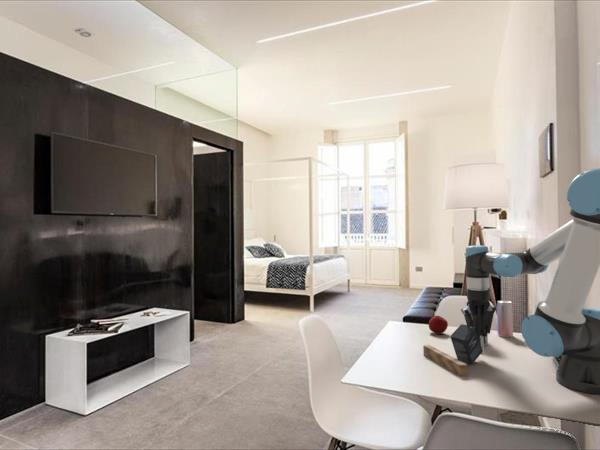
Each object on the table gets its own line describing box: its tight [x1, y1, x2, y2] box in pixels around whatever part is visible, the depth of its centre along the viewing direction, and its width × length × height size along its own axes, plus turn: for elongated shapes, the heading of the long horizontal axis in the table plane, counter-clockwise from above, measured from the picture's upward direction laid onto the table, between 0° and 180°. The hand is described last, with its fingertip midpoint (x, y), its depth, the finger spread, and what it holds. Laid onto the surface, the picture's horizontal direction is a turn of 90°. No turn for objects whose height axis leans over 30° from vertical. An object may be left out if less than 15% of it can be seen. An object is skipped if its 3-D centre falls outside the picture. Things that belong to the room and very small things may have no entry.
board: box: [422, 344, 468, 377], centre depth 133 cm, size 22×2×4 cm, turn 13°
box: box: [449, 323, 483, 365], centre depth 134 cm, size 8×6×11 cm
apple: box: [428, 315, 449, 335], centre depth 173 cm, size 8×8×8 cm
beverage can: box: [496, 300, 514, 338], centre depth 168 cm, size 6×6×15 cm
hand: (480, 353), depth 137 cm, fingers closed
